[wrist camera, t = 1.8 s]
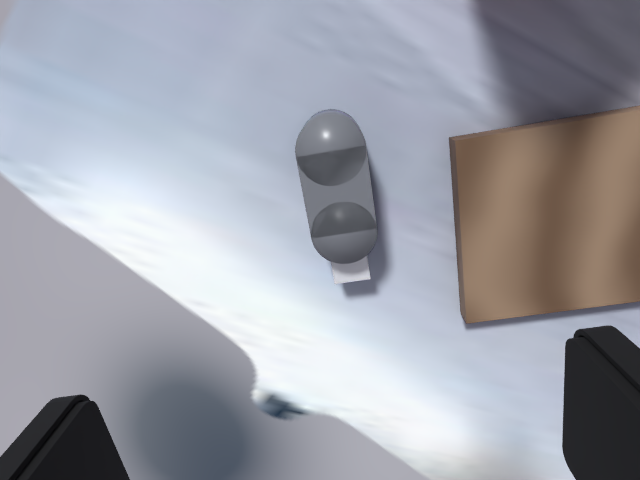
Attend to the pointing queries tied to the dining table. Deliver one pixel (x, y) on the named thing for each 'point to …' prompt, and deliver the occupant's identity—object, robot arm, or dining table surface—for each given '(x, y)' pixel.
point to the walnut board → (548, 215)
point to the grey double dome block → (337, 192)
